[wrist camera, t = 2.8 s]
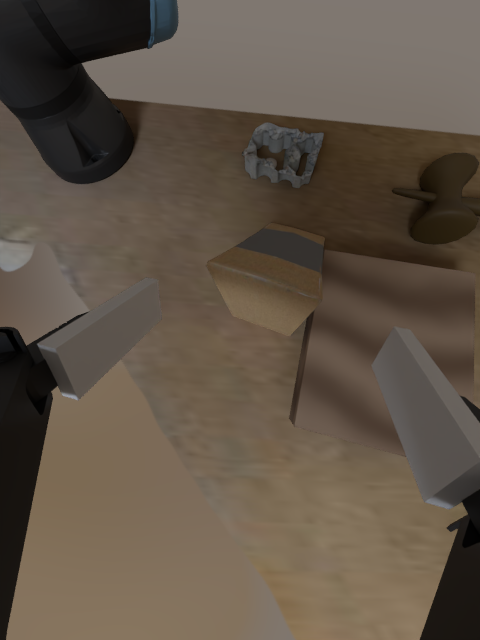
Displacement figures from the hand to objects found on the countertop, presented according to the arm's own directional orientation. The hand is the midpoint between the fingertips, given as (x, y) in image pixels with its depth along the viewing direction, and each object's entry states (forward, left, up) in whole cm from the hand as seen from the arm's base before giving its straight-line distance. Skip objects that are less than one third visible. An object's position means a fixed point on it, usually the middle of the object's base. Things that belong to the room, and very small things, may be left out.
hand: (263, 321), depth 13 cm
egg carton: (-29, -3, -17) cm, 33 cm away
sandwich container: (-11, 0, -17) cm, 20 cm away
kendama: (-23, +22, -17) cm, 36 cm away
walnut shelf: (-3, +13, -16) cm, 21 cm away
